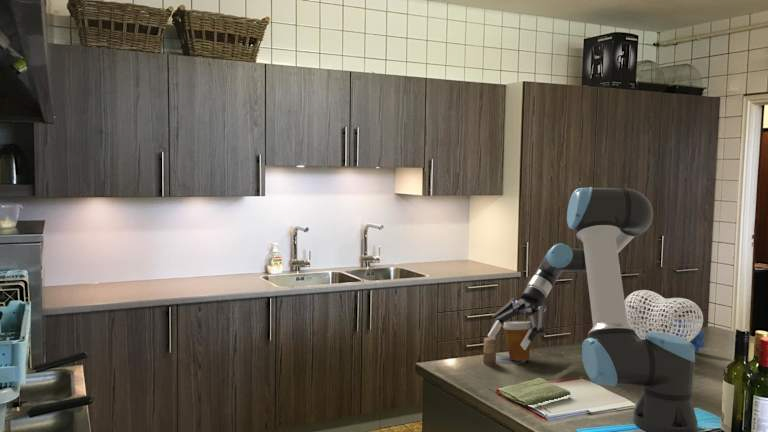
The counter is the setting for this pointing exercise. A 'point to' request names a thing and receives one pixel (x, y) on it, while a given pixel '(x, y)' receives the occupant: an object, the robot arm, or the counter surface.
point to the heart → (662, 302)
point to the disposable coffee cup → (517, 339)
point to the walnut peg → (489, 351)
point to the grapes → (697, 340)
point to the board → (506, 360)
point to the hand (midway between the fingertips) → (505, 342)
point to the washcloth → (533, 392)
